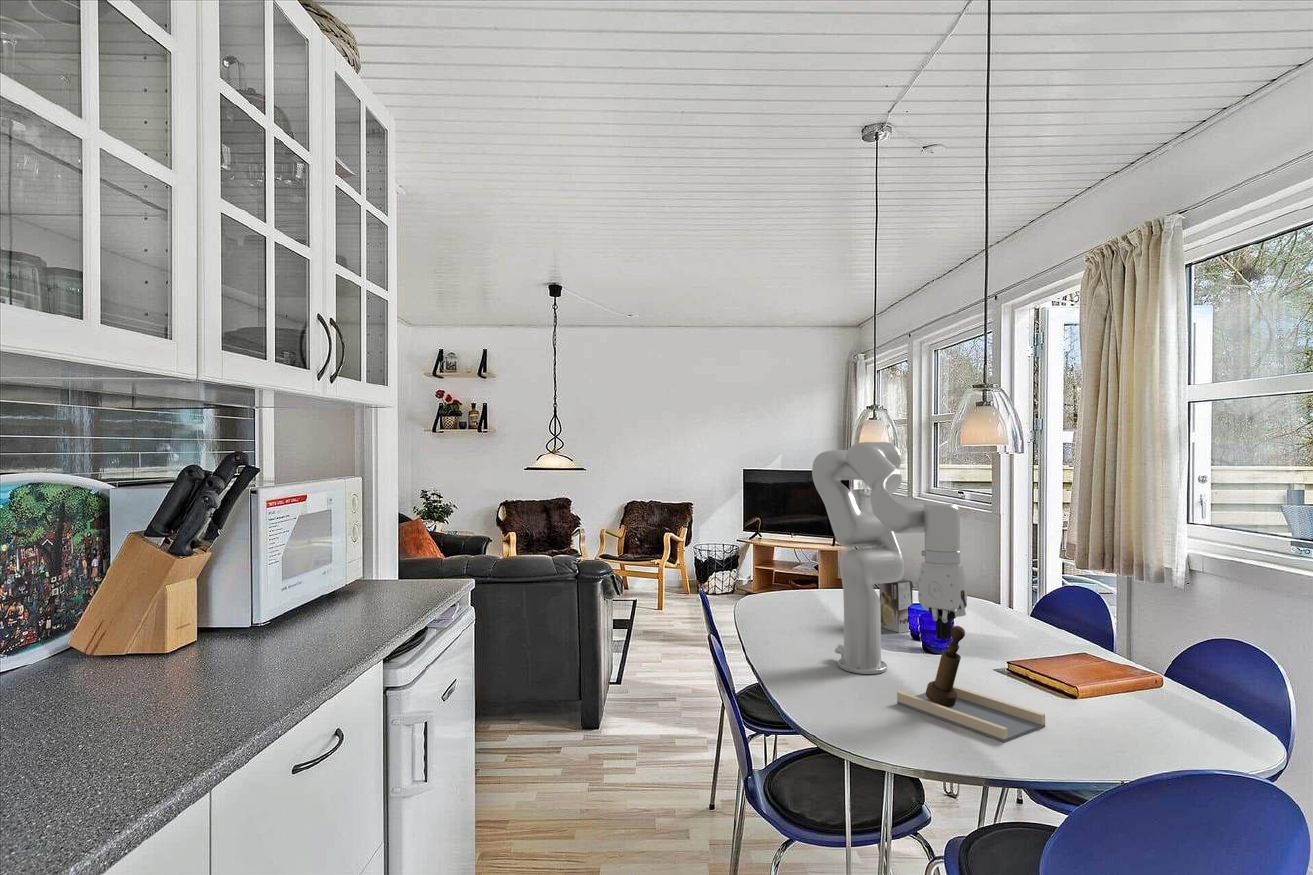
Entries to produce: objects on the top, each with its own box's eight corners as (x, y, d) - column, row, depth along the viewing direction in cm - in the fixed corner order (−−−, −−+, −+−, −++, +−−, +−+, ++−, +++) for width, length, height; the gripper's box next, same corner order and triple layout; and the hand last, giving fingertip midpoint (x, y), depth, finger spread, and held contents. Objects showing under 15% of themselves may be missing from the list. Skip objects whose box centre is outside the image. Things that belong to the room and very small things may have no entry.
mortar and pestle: (919, 690, 167) (937, 620, 163) (941, 689, 169) (960, 619, 166) (938, 707, 161) (958, 634, 157) (961, 705, 163) (981, 634, 159)
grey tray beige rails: (897, 703, 166) (897, 692, 166) (938, 691, 174) (938, 680, 174) (1004, 742, 144) (1003, 729, 144) (1045, 726, 152) (1045, 714, 152)
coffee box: (914, 631, 231) (913, 581, 231) (898, 633, 228) (898, 582, 229) (893, 624, 240) (893, 576, 240) (878, 626, 237) (878, 577, 237)
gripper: (904, 555, 169) (905, 634, 169) (961, 563, 157) (963, 648, 156) (925, 553, 173) (926, 629, 173) (982, 560, 161) (983, 643, 160)
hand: (943, 638), depth 164 cm, fingers closed
